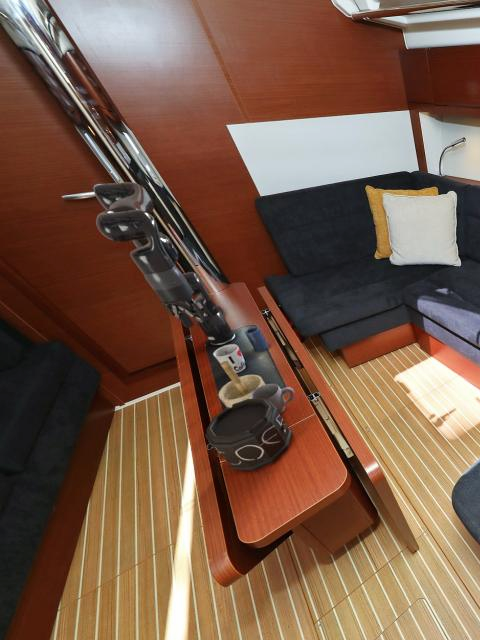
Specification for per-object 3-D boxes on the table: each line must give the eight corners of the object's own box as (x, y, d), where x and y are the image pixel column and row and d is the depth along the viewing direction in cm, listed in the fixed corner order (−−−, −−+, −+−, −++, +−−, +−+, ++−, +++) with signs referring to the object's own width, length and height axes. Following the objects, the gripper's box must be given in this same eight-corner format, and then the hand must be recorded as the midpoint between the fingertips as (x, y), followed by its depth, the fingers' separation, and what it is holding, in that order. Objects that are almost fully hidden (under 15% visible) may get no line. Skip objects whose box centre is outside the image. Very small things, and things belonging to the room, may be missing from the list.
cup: (238, 376, 132) (225, 358, 126) (221, 373, 134) (207, 355, 128) (254, 364, 139) (242, 345, 133) (238, 361, 140) (226, 343, 134)
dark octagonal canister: (289, 465, 101) (266, 434, 91) (221, 481, 96) (190, 450, 87) (301, 421, 114) (282, 390, 105) (243, 433, 110) (218, 401, 101)
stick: (245, 399, 122) (219, 363, 111) (252, 396, 123) (227, 360, 112) (246, 402, 121) (221, 366, 110) (253, 399, 122) (228, 363, 111)
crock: (253, 348, 148) (243, 330, 142) (267, 343, 151) (257, 325, 145) (256, 353, 145) (246, 335, 139) (270, 348, 148) (260, 330, 142)
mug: (263, 424, 113) (250, 405, 107) (261, 408, 119) (248, 390, 113) (301, 409, 119) (290, 390, 113) (297, 394, 125) (287, 376, 119)
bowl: (225, 400, 122) (215, 387, 118) (265, 382, 130) (256, 369, 125) (233, 419, 115) (222, 406, 111) (274, 400, 122) (266, 387, 118)
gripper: (200, 280, 96) (229, 325, 106) (164, 274, 99) (195, 319, 108) (173, 291, 90) (206, 338, 100) (136, 285, 93) (171, 331, 103)
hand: (200, 328), depth 104 cm, fingers open, 8 cm apart
